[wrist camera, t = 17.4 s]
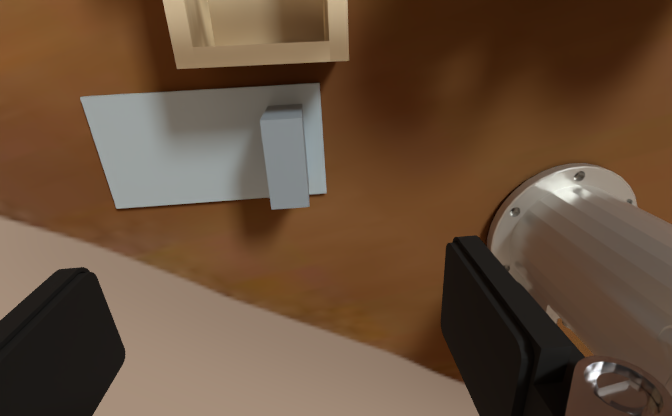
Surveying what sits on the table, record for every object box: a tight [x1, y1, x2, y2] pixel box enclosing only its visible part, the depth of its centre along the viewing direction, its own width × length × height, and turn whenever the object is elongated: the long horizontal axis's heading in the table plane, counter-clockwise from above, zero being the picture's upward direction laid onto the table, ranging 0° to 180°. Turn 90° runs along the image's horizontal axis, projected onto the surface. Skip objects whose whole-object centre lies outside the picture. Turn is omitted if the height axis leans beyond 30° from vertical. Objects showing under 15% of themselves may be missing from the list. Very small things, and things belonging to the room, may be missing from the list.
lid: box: [80, 83, 327, 210], centre depth 25 cm, size 16×8×6 cm, turn 93°
